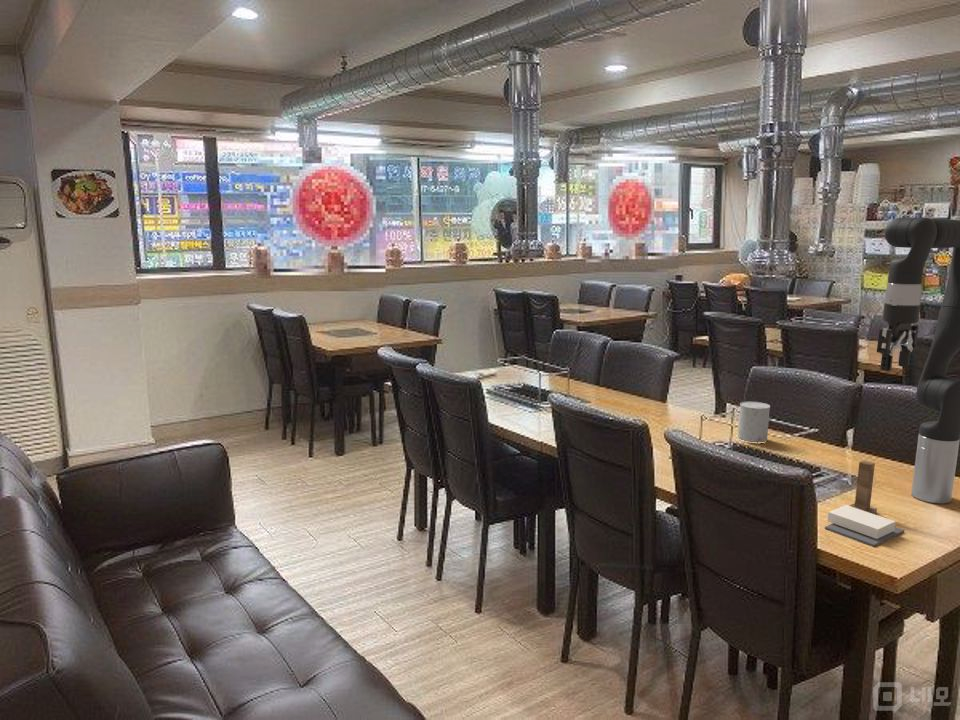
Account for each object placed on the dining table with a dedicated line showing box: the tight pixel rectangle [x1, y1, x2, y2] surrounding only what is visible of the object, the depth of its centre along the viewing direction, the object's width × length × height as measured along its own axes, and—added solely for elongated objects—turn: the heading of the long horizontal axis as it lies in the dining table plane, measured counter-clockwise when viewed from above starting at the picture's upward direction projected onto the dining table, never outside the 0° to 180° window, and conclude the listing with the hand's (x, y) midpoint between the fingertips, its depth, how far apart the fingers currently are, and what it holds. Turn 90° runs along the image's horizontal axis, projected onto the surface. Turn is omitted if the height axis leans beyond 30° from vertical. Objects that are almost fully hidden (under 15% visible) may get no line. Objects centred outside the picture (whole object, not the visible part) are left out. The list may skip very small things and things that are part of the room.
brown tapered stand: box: [848, 460, 878, 514], centre depth 183 cm, size 5×5×13 cm
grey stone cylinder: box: [737, 401, 771, 443], centre depth 243 cm, size 10×10×12 cm
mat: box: [824, 523, 905, 548], centre depth 173 cm, size 14×12×1 cm
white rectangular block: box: [827, 504, 896, 539], centre depth 173 cm, size 8×3×12 cm
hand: (894, 368), depth 175 cm, fingers open, 8 cm apart
